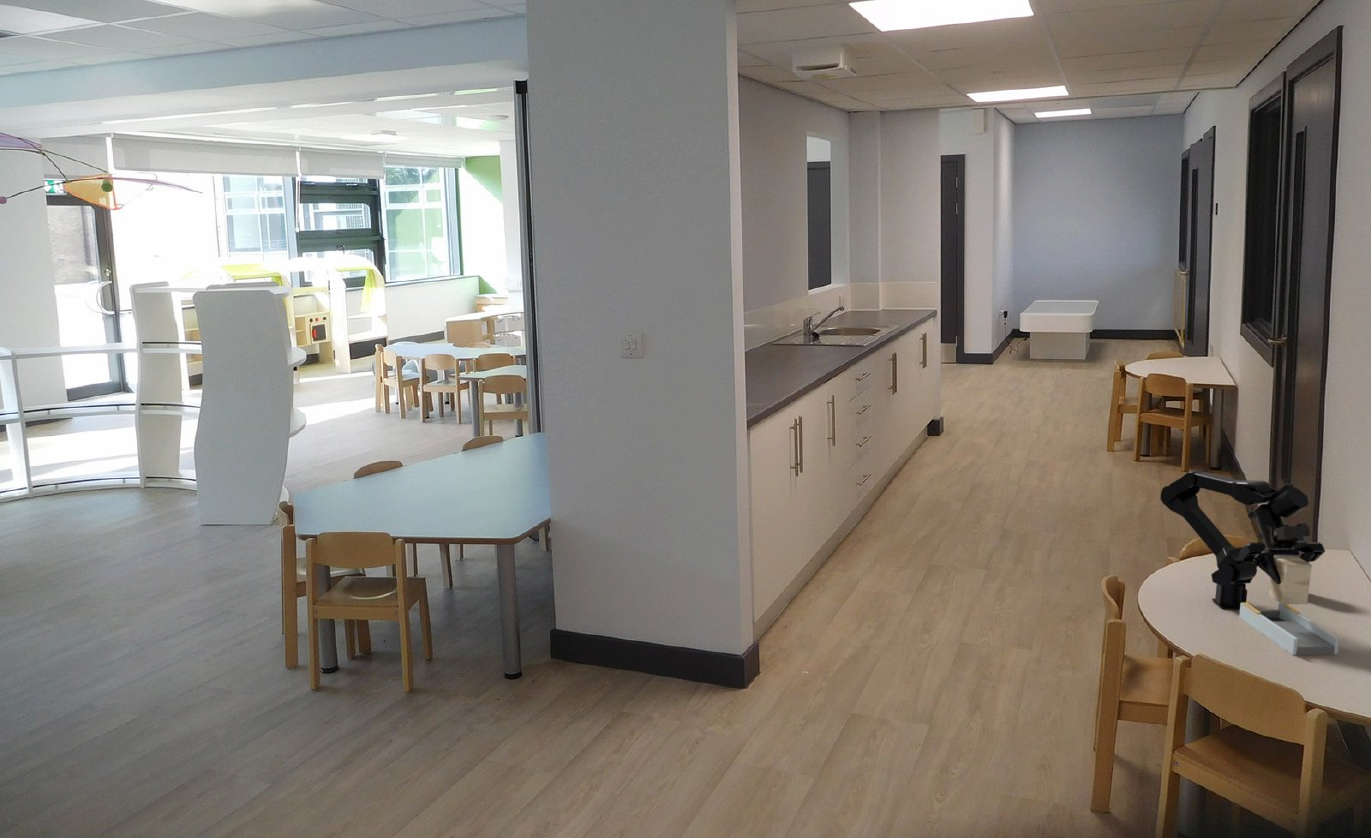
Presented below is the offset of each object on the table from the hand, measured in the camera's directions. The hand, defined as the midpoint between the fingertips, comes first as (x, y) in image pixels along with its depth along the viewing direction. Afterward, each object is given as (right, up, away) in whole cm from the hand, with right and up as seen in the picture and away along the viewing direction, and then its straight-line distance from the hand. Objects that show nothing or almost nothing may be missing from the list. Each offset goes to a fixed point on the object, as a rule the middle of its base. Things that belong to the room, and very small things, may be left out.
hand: (1292, 583), depth 264 cm
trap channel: (0, -13, +3) cm, 13 cm away
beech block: (0, -4, +2) cm, 5 cm away
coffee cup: (+17, -7, +34) cm, 39 cm away
